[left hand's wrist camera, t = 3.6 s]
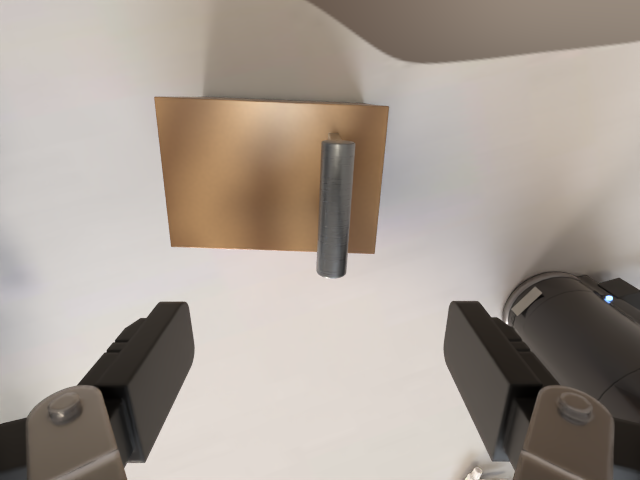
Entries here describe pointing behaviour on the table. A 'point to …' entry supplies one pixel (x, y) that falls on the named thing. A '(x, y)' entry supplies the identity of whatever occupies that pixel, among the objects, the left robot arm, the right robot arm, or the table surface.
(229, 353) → the table surface
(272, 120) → the wooden door panel
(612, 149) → the table surface
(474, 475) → the spray bottle
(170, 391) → the left robot arm
